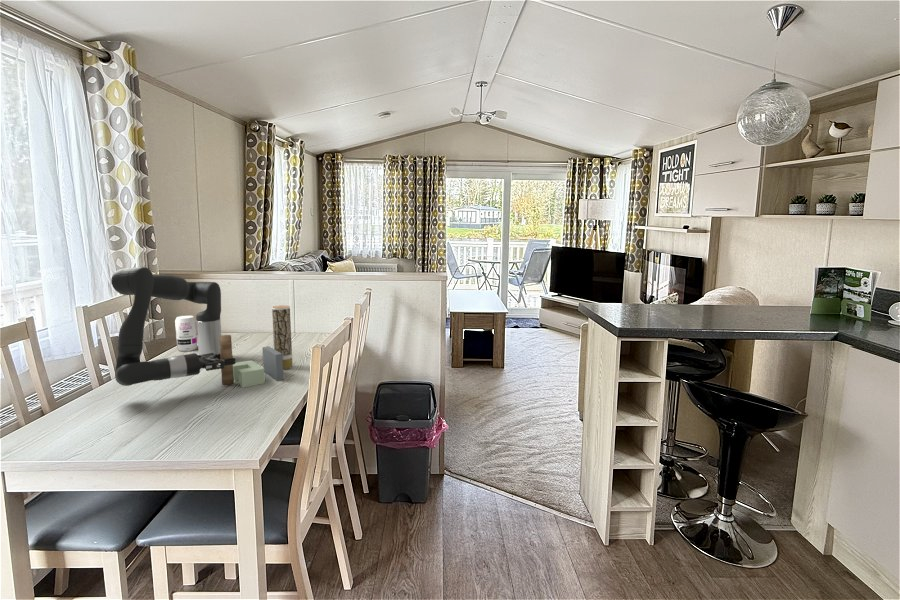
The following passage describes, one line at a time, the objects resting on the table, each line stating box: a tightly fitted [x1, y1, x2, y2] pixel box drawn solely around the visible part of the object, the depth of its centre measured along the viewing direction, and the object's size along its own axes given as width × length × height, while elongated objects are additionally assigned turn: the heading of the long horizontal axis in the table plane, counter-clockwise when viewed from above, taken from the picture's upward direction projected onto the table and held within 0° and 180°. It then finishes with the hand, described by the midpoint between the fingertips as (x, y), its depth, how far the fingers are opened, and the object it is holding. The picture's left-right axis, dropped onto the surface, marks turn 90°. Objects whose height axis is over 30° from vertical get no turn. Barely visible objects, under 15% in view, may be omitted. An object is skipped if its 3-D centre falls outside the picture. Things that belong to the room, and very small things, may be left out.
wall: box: [262, 345, 284, 381], centre depth 204 cm, size 14×2×10 cm, turn 39°
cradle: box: [233, 359, 266, 388], centre depth 198 cm, size 14×8×6 cm, turn 39°
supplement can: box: [174, 315, 198, 352], centre depth 241 cm, size 8×8×15 cm
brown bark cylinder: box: [271, 304, 293, 370], centre depth 213 cm, size 7×7×25 cm
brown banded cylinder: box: [219, 334, 235, 387], centre depth 193 cm, size 4×4×18 cm
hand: (231, 358), depth 194 cm, fingers open, 8 cm apart
